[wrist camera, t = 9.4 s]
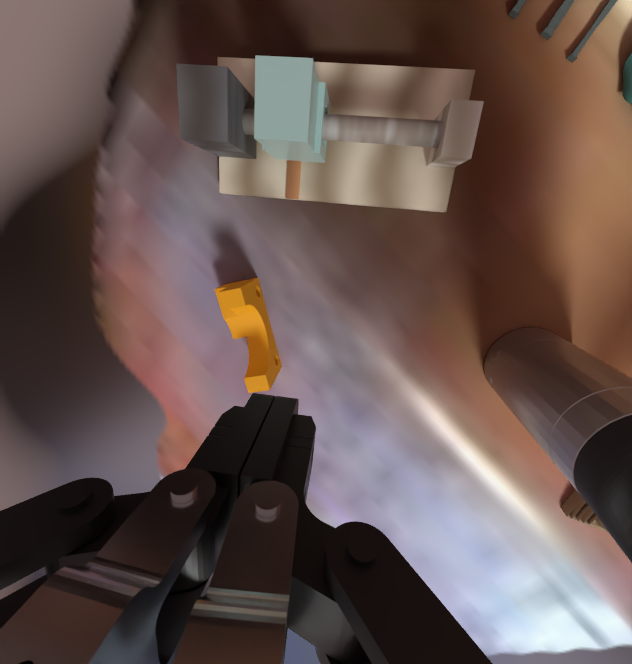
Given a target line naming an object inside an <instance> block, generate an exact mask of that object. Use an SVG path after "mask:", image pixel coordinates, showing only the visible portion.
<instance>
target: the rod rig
mask: <svg viewBox="0 0 632 664" xmlns="http://www.w3.org/2000/svg"><path fill="white" fill-rule="evenodd" d="M314 64H315V68H316V72H317V75H318V79H319V82H326V87H327V92H328V96H329V101H330V110H329V114H326V113H324V125H323V138H322V140H327V146H326V158H325V163H319V162H306V161H293V160H279V159H275V158H273V157H272V156H271V155H269V154H268V153H267V152H265V151H264V150H263V149H262V144H260V143H259V142H258V141H257V140H255V139H254V111H255V59H248V58H228V57H218V66H213V65H194V64H176V67H177V86H178V106H179V125H180V139H182V140H185V141H187V142H189V143H191V144H193V145H195V146H198V147H200V148H202V149H204V150H206V151H208V152H211V153H213V154H215V155H217V156H219V180H220V193H224V194H234V195H246V196H257V197H269V198H281V199H293V200H304V201H316V202H328V203H340V204H351V205H363V206H375V207H387V208H398V209H410V210H422V211H434V212H446V210H447V205H448V200H449V195H450V191H451V186H452V181H453V176H454V171H455V167H456V166H458V165H460V164H462V163H464V162H466V161H468V160H469V159H471V158H472V153H473V149H474V144H475V140H476V135H477V130H478V126H479V121H480V117H481V112H482V108H483V103H484V101H472V100H469V98H470V94H471V89H472V84H473V79H474V74H475V70H467V69H447V68H427V67H407V66H387V65H367V64H347V63H327V62H314Z"/></svg>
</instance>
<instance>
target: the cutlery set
mask: <svg viewBox="0 0 632 664" xmlns="http://www.w3.org/2000/svg"><path fill="white" fill-rule="evenodd" d="M616 1H617V0H609V2H608V3H607V4H606V6H605V7H604V9H603V10H602V11H601V13H600V14H599V16H598V17H597V19H596V21H595V22H594V24H593V25H592V27H591V28H590V30H589V31H588V32H587V34H586V35H585V36H584V38H583V39H582V40H581V42H580V43H579V44H578V46H577V47H576V48H575V50H574V51H573V52H572V54H570V55H569V56H568V57H567V58H566V59H568V60H569V61H571V62H573V61H574V60H576V59H577V55H578V53H579V52H580V51H581V49H582V48H583V46H584V45H585V43H586V42H587V40H588V39H589V37H590V36H591V34H592V33H593V32H594V30H595V29H596V28H597V26H598V25H599V24H600V23H601V22H602V20H603V19H604V18H605V17H606V15H607V14H608V13H609V11H610V10H611V8H612V7H613V6H614V4H615V3H616ZM525 2H526V0H518V1H517V3H516V4H515V6H514V8H513V9H512V10H511V12H510V13H509V16H511V17H512V18H514V19H515V17H516V16H517V15H518V13H519V11H520V9H521V7H522V6H523V4H524V3H525ZM573 2H574V0H564V2H563V3H562V5H561V6H560V7H559V9H558V10H557V12H556V13H555V15H554V16H553V17H552V19H551V20H550V22H549V23H548V25H547V26H546V28H545V30H543V32H542V33H541V34H540V35H541V36H543V37H544V38H546V39H547V40H548V39H549V38H550V37H551V36H552V34H553V32H554V30H555V29H556V28H557V27H558V25H559V23H560V22H561V20H562V19H563V17H564V16H565V14H566V13H567V11H568V9H569V8H570V6H571V5H572V3H573ZM623 97H624V99H625V100H626V101H627V102H629V103H631V104H632V53H631V54H630V56H629V57H628V59H627V61H626V62H625V65H624V69H623Z"/></svg>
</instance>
